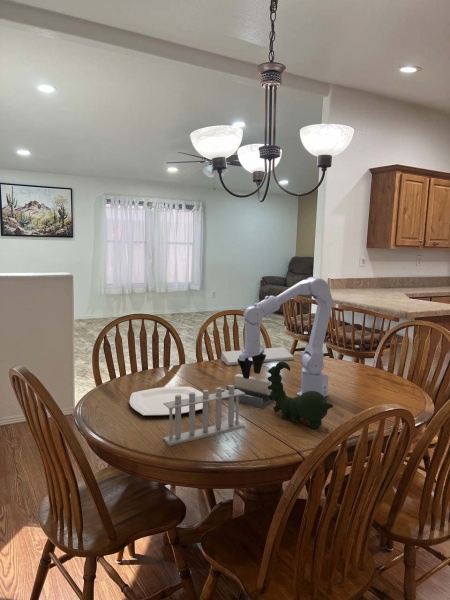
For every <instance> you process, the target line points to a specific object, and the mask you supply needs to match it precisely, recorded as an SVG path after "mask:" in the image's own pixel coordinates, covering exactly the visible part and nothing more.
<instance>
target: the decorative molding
mask: <svg viewBox="0 0 450 600" xmlns="http://www.w3.org/2000/svg"><path fill="white" fill-rule="evenodd" d="M242 350H243V349H242ZM242 350H230V351H229V350H228V351H221V356H220V361H222V362H224V363H225V364H226V365H227V366H236V365H237V366H240V365H239V363H238V361H237V360H238V359H239V355H240V354H242V353H243V352H242ZM263 354H265V355H266V358H265V360H264V362H263V363H271V362H284V361H291V360H293V359H294V356H293V355H292V353H290V351H289V350H288V349H287V348H286V347H284V346H281V347H280V346H279V347H269V348H264V353H263ZM248 360H250V361H253V360H252V357H250V358H248Z"/></svg>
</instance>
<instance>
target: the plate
mask: <svg viewBox="0 0 450 600" xmlns="http://www.w3.org/2000/svg"><path fill="white" fill-rule="evenodd" d="M190 392H195V397H198V396H203V391H200V390H198V389H196V388H194V387H192V386H164V387H163V386H161V387H155V388H149V389H142V390H139V391H134V392H132V393H131V395H130V397H129V400H128V401H129V405H130V407H131V409H133V410H134V411H136V412H137V413H139V414H140V415H141V416H144V417H146V416H147V417H154V416H155V417H156V416H169V408H168V407H166V406H165V405H164V404H163V403H166V402H171V401H175V395H181V400H182V399H187V398H189V393H190ZM200 410H203V403H198V404H195V412H197V411H200ZM182 414H189V405H188V406H183V407H181V415H182ZM173 415H174V416H175V408H173V410H172V416H173Z"/></svg>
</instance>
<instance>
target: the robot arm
mask: <svg viewBox="0 0 450 600" xmlns="http://www.w3.org/2000/svg"><path fill="white" fill-rule="evenodd" d="M300 295H305V296H308V295H309V296H311V297H312V298H313V299H314V300H315V302H316V303H317V306H316V311H315V315H314V319H313V324H312V327H311V333H310V335H309V340H308V344H307V345H306V347H305V349H304V351H303V353H302V354H301V355H300V364H301V365H302V368H301V374H300V375H301V377H300V378H301V379H300V391H299V392H297V393H296V396H298V397H300V395H302V394H303V393H304V392H307V391H317V392H319V393H321V394H322V395H323V396H324V397H325V398H326V397H327V396H329V393H328V390H329V388H328V387H329V377H328V374H326V373H323V372H322V371H323V369H324V365H325V364H324V357H325V356H324V351H323V347H324V343H325V339H326V338H325V337H326V334H327V330H328V325H329V322H330V317H331V313H332V309H333V304H334V300H333V296H332V293H331V286H330V285H329V284H328V282H327V281H326V280H325V279H323V278H317V277H314V276H309V277H307V278H306V279H303V280H301V281H299V282H296V283H295V284H294V285H292V286H291V287H288V289H286V290H284V291H283V292H282V293H280V294H278V295H266V296H265V297H264V299H262V300H261V301H260V302H255V303H253V305H252V306H251V305H250V306H248V307H247V308H246V309H245V310H244V312H243V319H245V322H244V324H245V325H244V347H243V348H244V349H242V352H243V353H242V354H240V355H239V359H238V360H237V361H238V363H239V365H238V366H239V367H240V370H241V374H242V375H243V378H245V379H249V377H250V376H251V370H252V366H253V373H254V374H258V375H260V373H261V370H262V367H263V363H265V362H264V360H265V358H266V355H265V354H263V353H264V349H265V347H261V322H262V321H263V318H266V317H268V316H270V315H271V314H273V313H275V312H277V311H278V310H280V308H281V305H282V304H284V303H286V302H289V301H290V300H292V299H294V298H295V297H298V296H300ZM250 357H252V360H253V361H250V360H248V358H250Z"/></svg>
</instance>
